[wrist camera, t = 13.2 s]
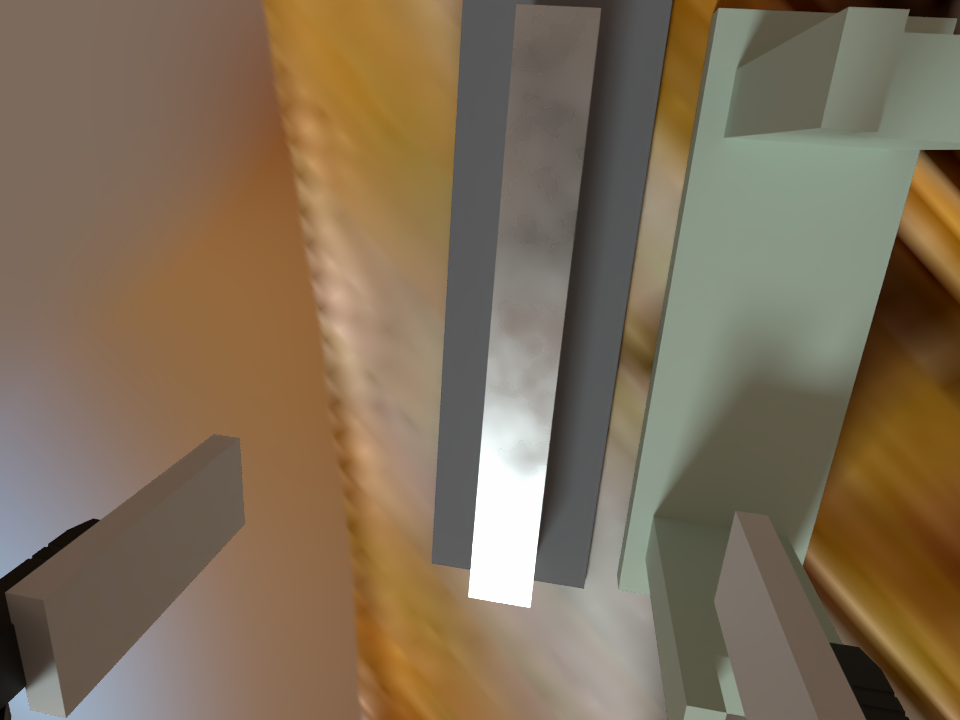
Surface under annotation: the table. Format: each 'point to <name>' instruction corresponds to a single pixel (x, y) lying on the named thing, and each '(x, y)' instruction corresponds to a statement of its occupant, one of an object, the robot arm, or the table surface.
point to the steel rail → (530, 288)
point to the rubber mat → (593, 277)
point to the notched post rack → (772, 300)
